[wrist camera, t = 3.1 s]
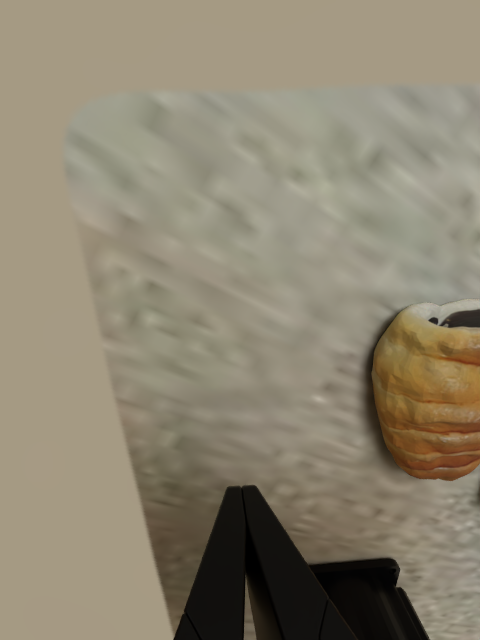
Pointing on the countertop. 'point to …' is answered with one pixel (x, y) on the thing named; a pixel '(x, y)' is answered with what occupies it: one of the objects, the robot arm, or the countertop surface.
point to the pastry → (431, 389)
